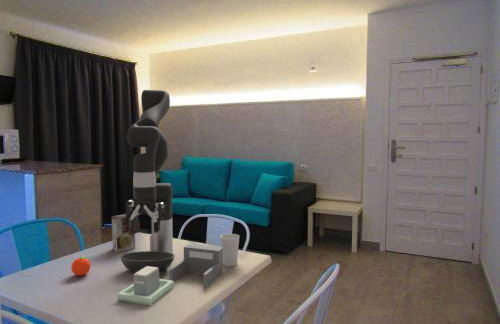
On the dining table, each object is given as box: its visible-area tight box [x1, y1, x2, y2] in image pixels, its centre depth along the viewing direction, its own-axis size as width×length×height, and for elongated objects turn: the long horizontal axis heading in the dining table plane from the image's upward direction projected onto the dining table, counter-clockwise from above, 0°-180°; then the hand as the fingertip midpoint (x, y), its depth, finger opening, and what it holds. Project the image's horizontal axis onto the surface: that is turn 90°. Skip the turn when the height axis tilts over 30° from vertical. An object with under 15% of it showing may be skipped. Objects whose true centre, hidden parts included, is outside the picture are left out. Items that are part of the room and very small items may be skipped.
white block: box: [133, 266, 160, 297], centre depth 130 cm, size 5×9×8 cm, turn 162°
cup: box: [220, 233, 240, 267], centre depth 160 cm, size 8×8×12 cm
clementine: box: [70, 256, 92, 277], centre depth 148 cm, size 8×7×7 cm
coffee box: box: [111, 213, 136, 253], centre depth 180 cm, size 9×6×16 cm
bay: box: [168, 243, 224, 288], centre depth 145 cm, size 15×16×10 cm
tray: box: [117, 278, 175, 307], centre depth 131 cm, size 12×15×2 cm
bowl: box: [119, 250, 175, 274], centre depth 152 cm, size 12×22×6 cm, turn 90°
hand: (145, 231), depth 129 cm, fingers open, 8 cm apart
